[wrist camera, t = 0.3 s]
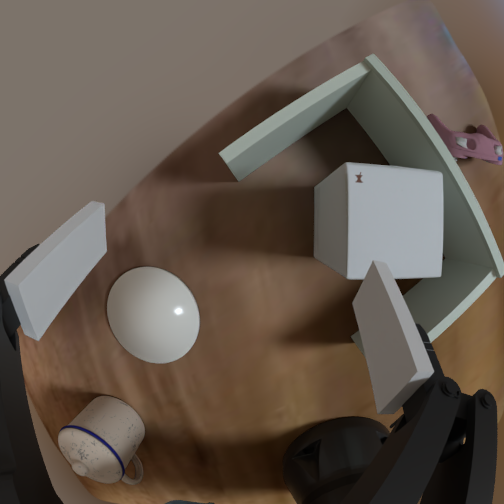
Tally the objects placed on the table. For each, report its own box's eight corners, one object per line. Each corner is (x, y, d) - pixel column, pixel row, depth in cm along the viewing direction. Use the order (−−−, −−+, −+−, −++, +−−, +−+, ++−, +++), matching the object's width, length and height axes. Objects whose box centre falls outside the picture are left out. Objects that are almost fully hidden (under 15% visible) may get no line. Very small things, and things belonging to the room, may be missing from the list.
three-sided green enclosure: (347, 96, 28) (373, 53, 19) (454, 259, 29) (506, 271, 20) (233, 174, 30) (217, 151, 20) (354, 343, 30) (384, 384, 21)
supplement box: (312, 259, 30) (341, 281, 17) (313, 185, 29) (343, 157, 17) (380, 260, 30) (443, 280, 17) (381, 189, 29) (444, 169, 16)
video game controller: (419, 149, 30) (450, 165, 24) (422, 111, 27) (454, 121, 21) (478, 157, 29) (510, 175, 23) (482, 124, 27) (516, 137, 21)
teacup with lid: (78, 403, 33) (34, 446, 22) (116, 383, 33) (69, 433, 21) (131, 463, 34) (102, 513, 22) (174, 449, 33) (148, 509, 21)
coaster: (203, 364, 32) (202, 366, 31) (116, 356, 32) (114, 358, 32) (197, 265, 31) (195, 266, 30) (105, 266, 31) (102, 267, 31)
